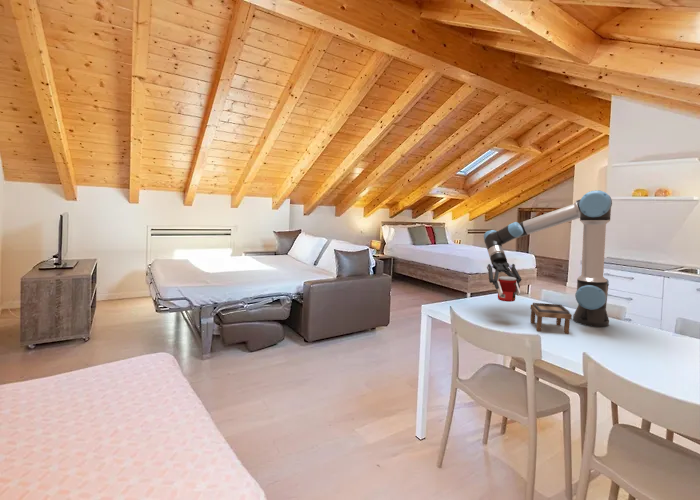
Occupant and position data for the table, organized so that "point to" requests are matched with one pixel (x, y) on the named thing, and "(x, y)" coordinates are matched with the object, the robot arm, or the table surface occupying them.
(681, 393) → the table surface
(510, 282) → the canned food
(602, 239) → the robot arm
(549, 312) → the stool
